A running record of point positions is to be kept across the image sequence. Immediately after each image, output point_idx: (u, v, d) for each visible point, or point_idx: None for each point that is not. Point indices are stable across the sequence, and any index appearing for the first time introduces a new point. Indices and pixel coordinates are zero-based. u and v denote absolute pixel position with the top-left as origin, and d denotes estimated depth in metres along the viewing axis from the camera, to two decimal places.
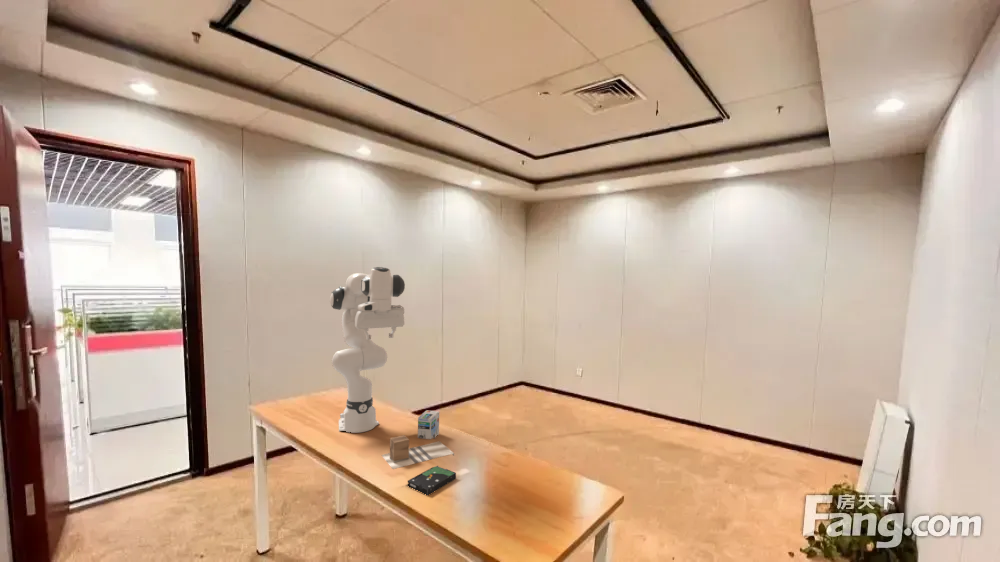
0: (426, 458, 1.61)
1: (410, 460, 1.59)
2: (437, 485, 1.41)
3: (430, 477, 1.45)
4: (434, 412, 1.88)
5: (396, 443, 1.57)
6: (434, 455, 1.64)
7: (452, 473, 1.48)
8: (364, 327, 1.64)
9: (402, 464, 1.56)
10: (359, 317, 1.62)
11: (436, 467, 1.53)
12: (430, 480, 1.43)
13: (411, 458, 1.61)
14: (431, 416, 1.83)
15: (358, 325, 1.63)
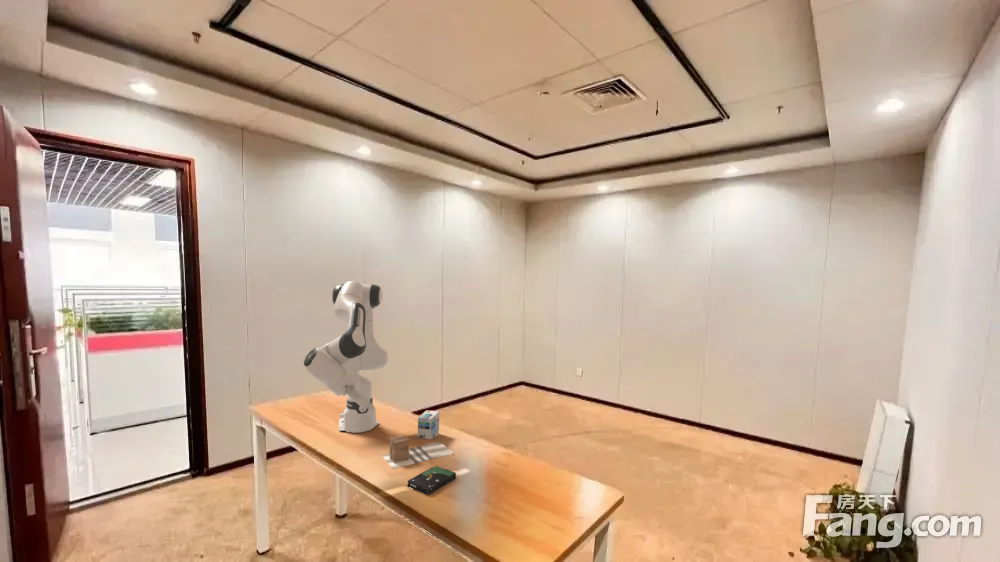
0: (426, 458, 1.61)
1: (410, 460, 1.59)
2: (437, 485, 1.41)
3: (430, 477, 1.45)
4: (434, 412, 1.88)
5: (396, 443, 1.57)
6: (434, 455, 1.64)
7: (452, 473, 1.48)
8: None
9: (402, 464, 1.56)
10: None
11: (436, 467, 1.53)
12: (430, 480, 1.43)
13: (411, 458, 1.61)
14: (431, 416, 1.83)
15: None
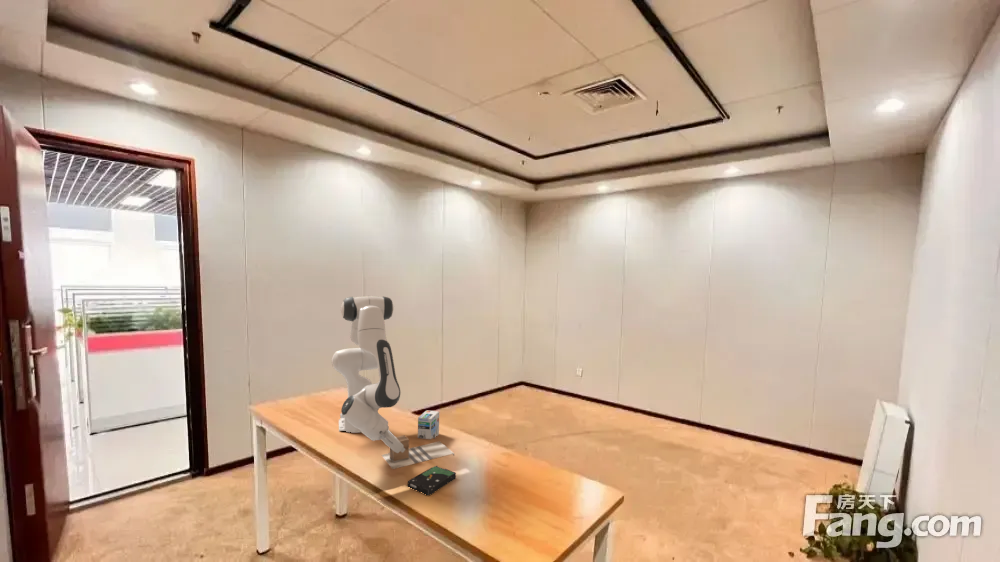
0: (426, 458, 1.61)
1: (410, 460, 1.59)
2: (438, 485, 1.41)
3: (430, 477, 1.45)
4: (434, 412, 1.88)
5: None
6: (434, 455, 1.64)
7: (452, 473, 1.48)
8: None
9: (402, 464, 1.56)
10: None
11: (435, 467, 1.53)
12: (430, 480, 1.43)
13: (411, 458, 1.61)
14: (431, 416, 1.83)
15: None
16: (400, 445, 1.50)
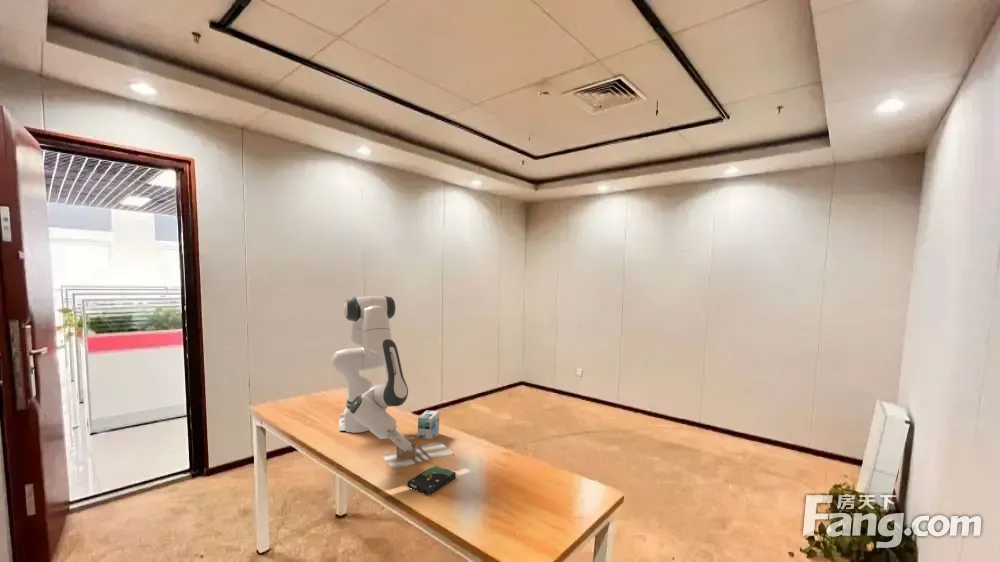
0: (426, 458, 1.61)
1: (410, 460, 1.59)
2: (438, 485, 1.41)
3: (430, 477, 1.45)
4: (434, 412, 1.88)
5: None
6: (434, 455, 1.64)
7: (452, 473, 1.49)
8: None
9: (402, 464, 1.56)
10: None
11: (435, 467, 1.53)
12: (430, 480, 1.43)
13: None
14: (431, 416, 1.83)
15: None
16: (408, 443, 1.52)
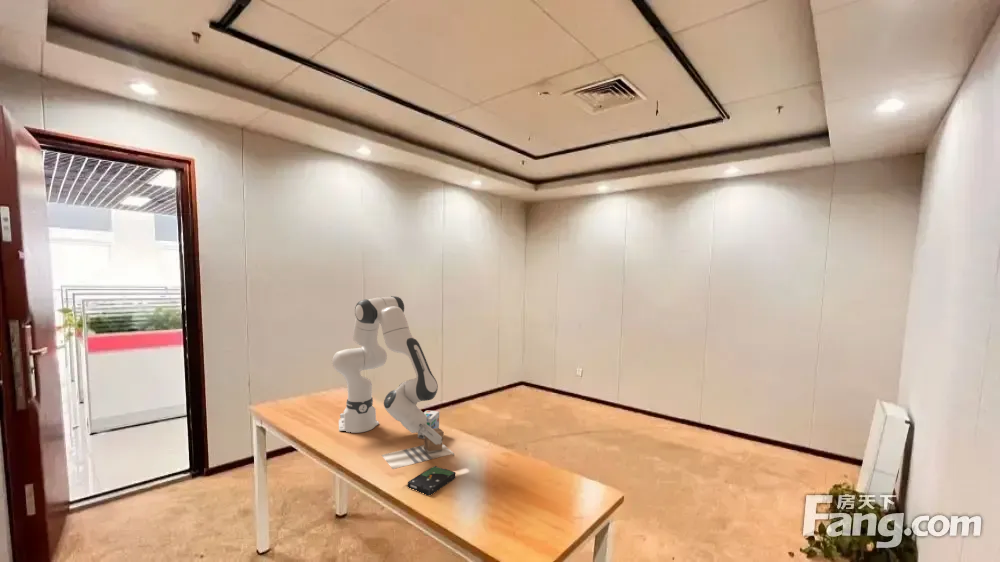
0: (426, 458, 1.61)
1: (410, 460, 1.59)
2: (438, 485, 1.41)
3: (430, 478, 1.45)
4: (434, 412, 1.88)
5: None
6: (434, 455, 1.64)
7: (451, 473, 1.49)
8: None
9: (402, 464, 1.56)
10: None
11: (434, 467, 1.53)
12: (430, 480, 1.43)
13: (411, 458, 1.61)
14: (431, 416, 1.83)
15: None
16: (439, 437, 1.59)
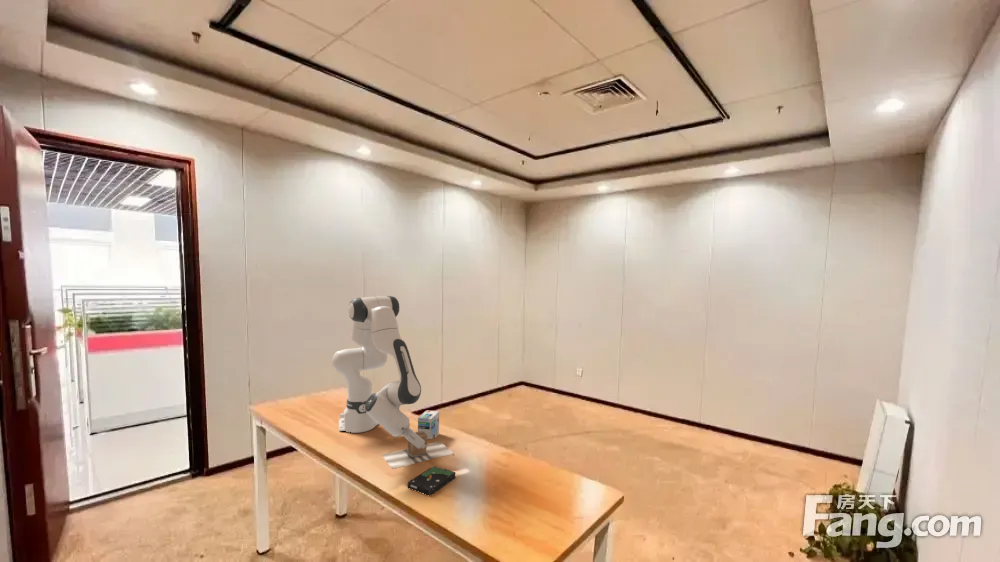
0: (426, 458, 1.61)
1: (410, 460, 1.59)
2: (438, 485, 1.41)
3: (430, 478, 1.45)
4: (434, 412, 1.88)
5: None
6: (434, 455, 1.64)
7: (451, 473, 1.49)
8: None
9: (402, 464, 1.56)
10: None
11: (434, 467, 1.52)
12: (430, 480, 1.43)
13: (411, 458, 1.61)
14: (431, 416, 1.83)
15: None
16: (422, 441, 1.55)
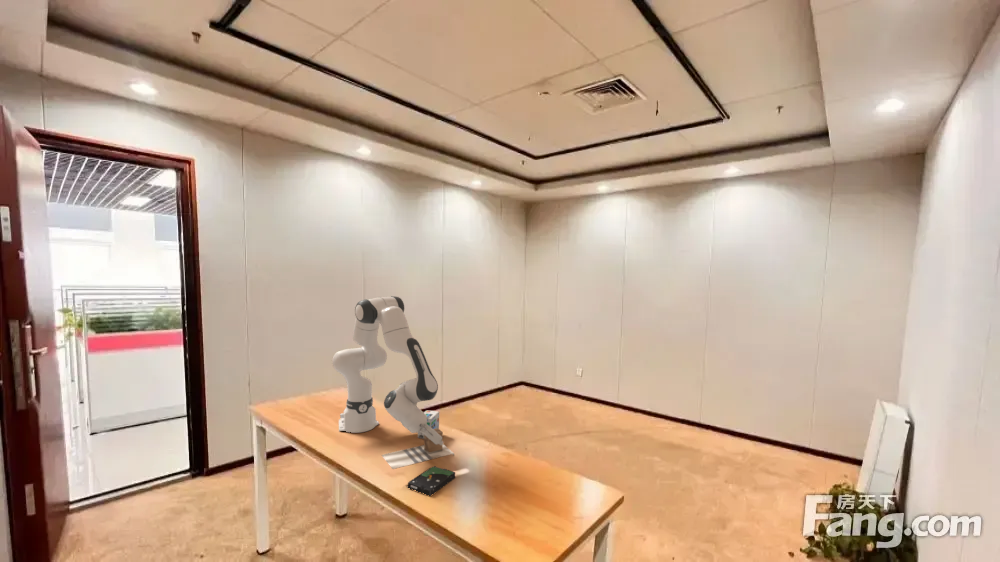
0: (426, 458, 1.61)
1: (410, 460, 1.59)
2: (439, 485, 1.41)
3: (430, 478, 1.44)
4: (434, 412, 1.88)
5: None
6: (434, 455, 1.64)
7: (451, 472, 1.49)
8: None
9: (402, 464, 1.56)
10: None
11: (434, 467, 1.52)
12: (430, 480, 1.43)
13: (411, 458, 1.61)
14: (431, 416, 1.83)
15: None
16: (439, 437, 1.59)
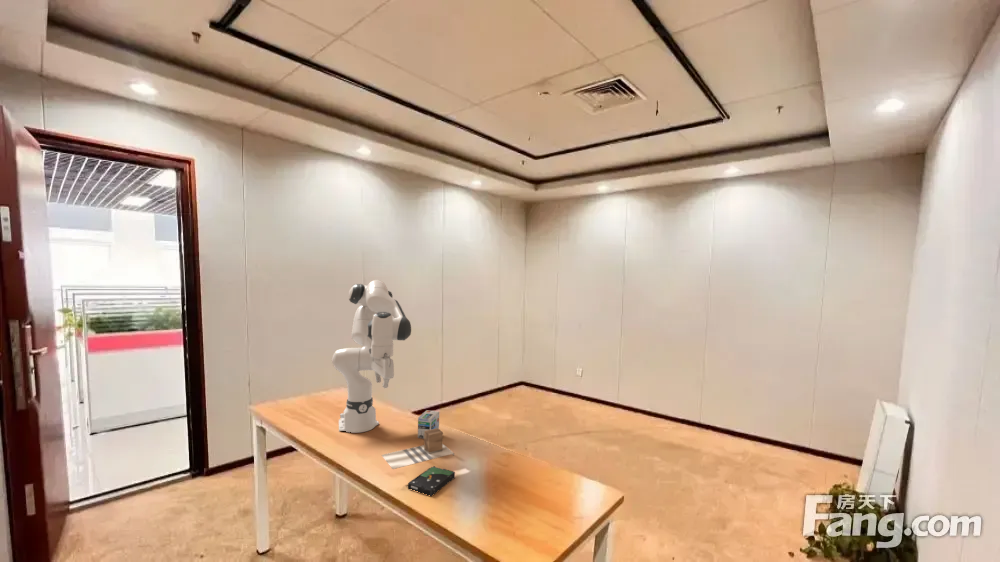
0: (426, 458, 1.61)
1: (410, 460, 1.59)
2: (439, 485, 1.41)
3: (430, 478, 1.44)
4: (434, 412, 1.88)
5: (431, 435, 1.65)
6: (434, 455, 1.64)
7: (451, 472, 1.49)
8: (372, 369, 1.72)
9: (402, 464, 1.56)
10: (370, 358, 1.73)
11: (433, 468, 1.52)
12: (430, 480, 1.43)
13: (411, 458, 1.61)
14: (431, 416, 1.83)
15: (370, 365, 1.74)
16: (392, 374, 1.59)
